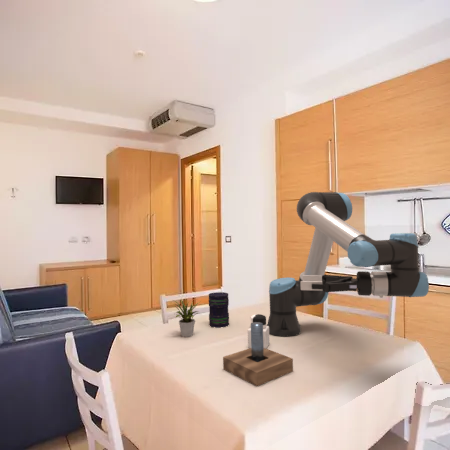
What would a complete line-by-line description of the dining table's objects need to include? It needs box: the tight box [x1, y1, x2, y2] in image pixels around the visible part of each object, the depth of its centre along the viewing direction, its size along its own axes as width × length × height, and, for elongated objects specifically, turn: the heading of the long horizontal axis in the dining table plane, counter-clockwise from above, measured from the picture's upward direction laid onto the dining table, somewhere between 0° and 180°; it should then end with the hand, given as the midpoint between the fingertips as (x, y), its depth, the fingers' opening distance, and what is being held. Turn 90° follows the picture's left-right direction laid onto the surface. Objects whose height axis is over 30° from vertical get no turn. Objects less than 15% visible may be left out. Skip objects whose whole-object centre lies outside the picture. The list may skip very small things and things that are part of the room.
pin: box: [250, 322, 264, 362], centre depth 107 cm, size 4×4×15 cm
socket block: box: [222, 348, 294, 387], centre depth 107 cm, size 16×16×4 cm
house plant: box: [172, 299, 202, 338], centre depth 146 cm, size 14×14×16 cm
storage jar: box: [208, 291, 230, 329], centre depth 160 cm, size 10×10×15 cm
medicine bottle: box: [247, 313, 270, 349], centre depth 130 cm, size 7×7×12 cm
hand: (301, 282), depth 109 cm, fingers open, 13 cm apart
